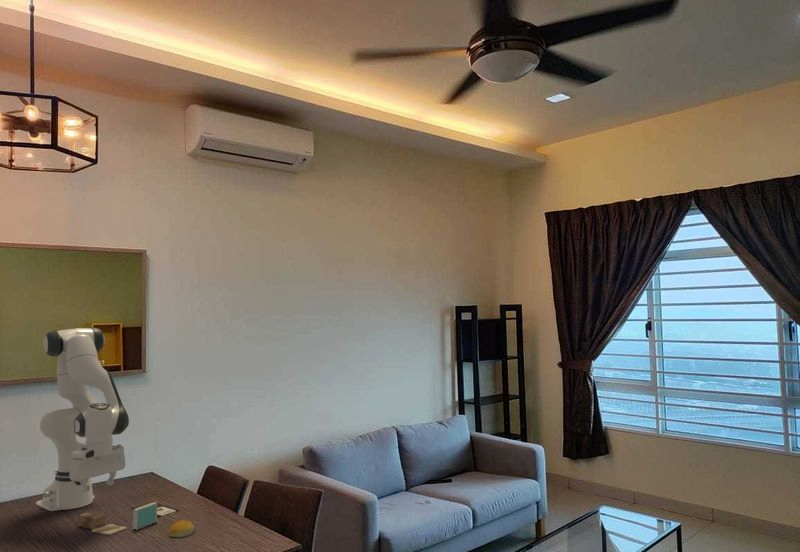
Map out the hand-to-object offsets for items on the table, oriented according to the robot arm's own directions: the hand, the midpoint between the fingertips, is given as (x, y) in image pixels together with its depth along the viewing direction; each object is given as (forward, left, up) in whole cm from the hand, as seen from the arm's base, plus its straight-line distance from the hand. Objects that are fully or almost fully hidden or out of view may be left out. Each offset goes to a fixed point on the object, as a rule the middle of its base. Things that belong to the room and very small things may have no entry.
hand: (98, 487), depth 211 cm
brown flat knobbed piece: (+2, 0, -14) cm, 14 cm away
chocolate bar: (+3, +23, -15) cm, 28 cm away
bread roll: (+32, +9, -15) cm, 36 cm away
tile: (+14, +9, -14) cm, 22 cm away
